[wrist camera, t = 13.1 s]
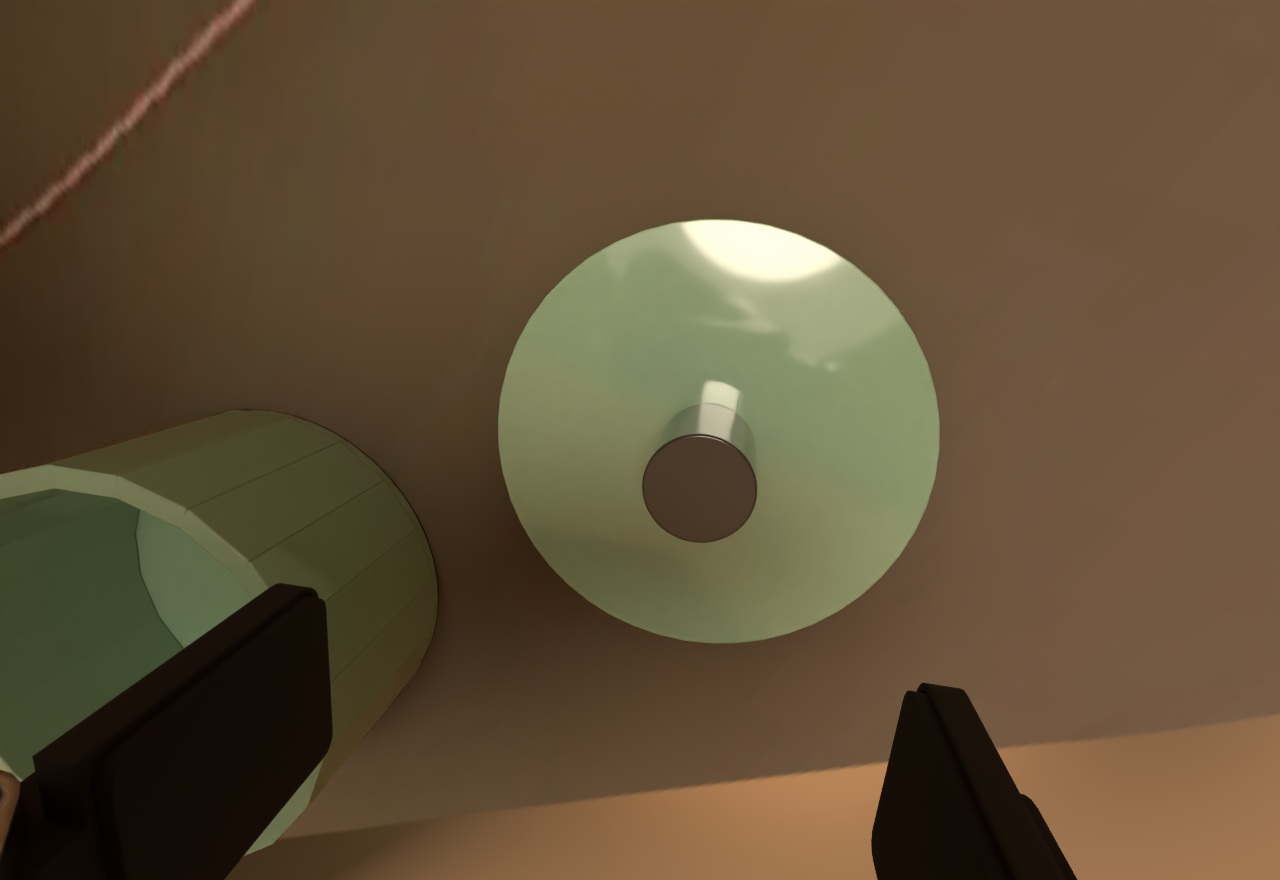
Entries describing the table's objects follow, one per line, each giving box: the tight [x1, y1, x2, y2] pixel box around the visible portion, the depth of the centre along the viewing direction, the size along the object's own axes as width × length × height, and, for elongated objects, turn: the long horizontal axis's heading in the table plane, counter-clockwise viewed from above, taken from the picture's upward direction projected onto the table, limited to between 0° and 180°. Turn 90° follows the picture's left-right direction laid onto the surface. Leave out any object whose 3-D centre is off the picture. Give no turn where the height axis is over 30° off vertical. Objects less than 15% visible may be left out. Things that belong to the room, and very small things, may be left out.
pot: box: [0, 409, 438, 856], centre depth 26 cm, size 16×16×8 cm
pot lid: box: [498, 219, 940, 643], centre depth 23 cm, size 17×17×6 cm
